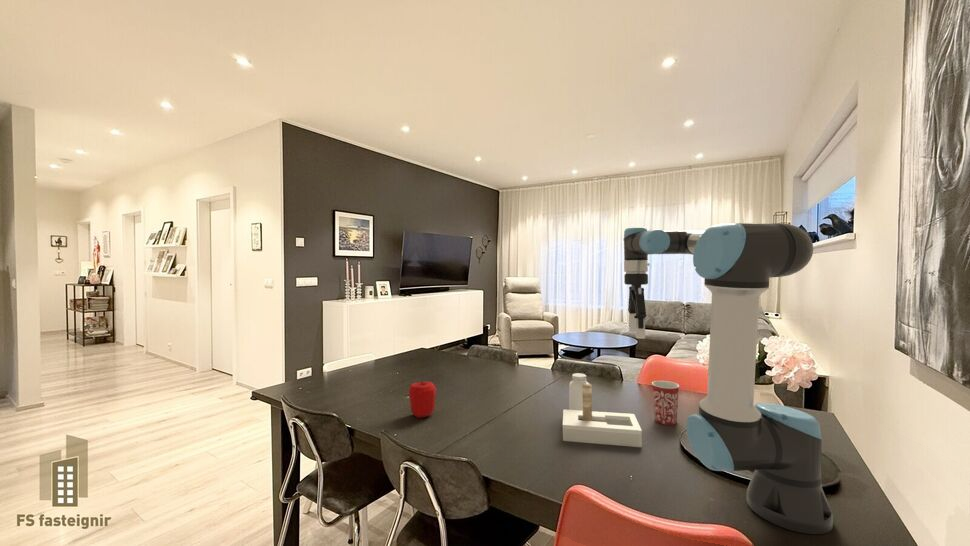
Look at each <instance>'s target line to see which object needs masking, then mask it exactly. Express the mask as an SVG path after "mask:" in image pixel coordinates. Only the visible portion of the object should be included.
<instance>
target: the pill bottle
mask: <svg viewBox="0 0 970 546" xmlns="http://www.w3.org/2000/svg"><path fill="white" fill-rule="evenodd" d="M582 384H590V382H588V381H587V375H586V374H585V373H579V372H576V373H573V374H572V375H571V381H570V382H569V384H568V393H569V394H568V404H569V405H568V406H569V409H568V410H580V411H583V392H582Z"/></svg>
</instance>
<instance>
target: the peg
mask: <svg viewBox="0 0 970 546" xmlns="http://www.w3.org/2000/svg"><path fill="white" fill-rule="evenodd" d="M592 389H593V385H592V384H591V383H589V384H582V392H583V421H592V411H593V405H592V404H593V395H592V392H593V391H592Z"/></svg>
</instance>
